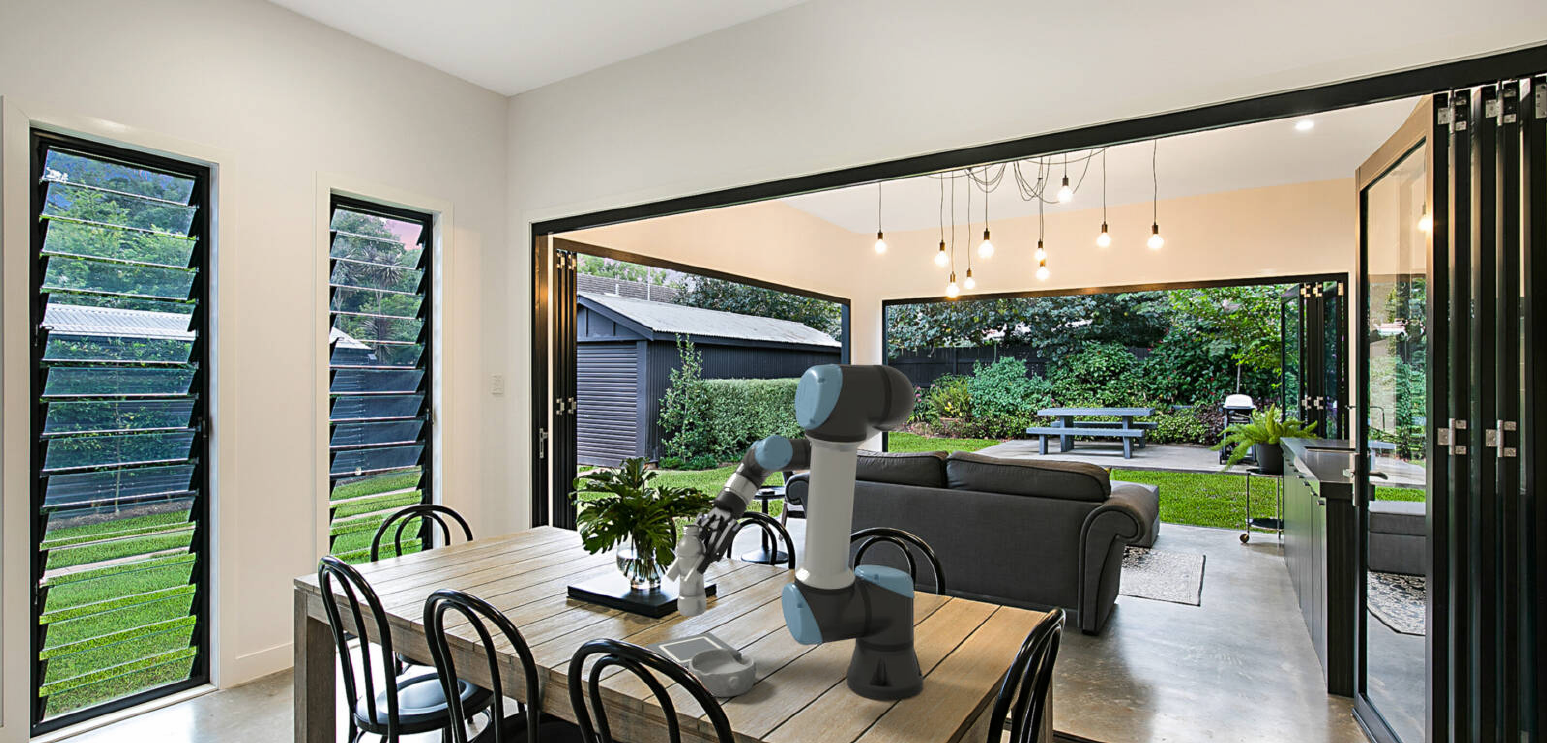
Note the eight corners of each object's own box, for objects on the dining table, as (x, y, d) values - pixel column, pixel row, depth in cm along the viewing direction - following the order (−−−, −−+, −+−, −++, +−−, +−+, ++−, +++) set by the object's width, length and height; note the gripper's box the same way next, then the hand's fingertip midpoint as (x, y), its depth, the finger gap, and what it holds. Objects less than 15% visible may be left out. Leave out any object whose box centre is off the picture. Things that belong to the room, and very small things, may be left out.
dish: (707, 667, 157) (707, 644, 157) (767, 677, 151) (766, 653, 152) (672, 694, 143) (672, 669, 143) (736, 706, 138) (736, 680, 138)
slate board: (741, 659, 161) (741, 653, 161) (673, 674, 153) (673, 668, 153) (709, 637, 175) (709, 632, 175) (645, 650, 166) (645, 644, 166)
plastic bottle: (712, 613, 165) (712, 524, 165) (693, 622, 160) (693, 530, 160) (690, 609, 169) (689, 522, 169) (671, 617, 163) (670, 527, 163)
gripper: (770, 513, 168) (715, 600, 157) (717, 503, 182) (663, 582, 170) (753, 493, 164) (696, 580, 153) (700, 483, 178) (644, 563, 167)
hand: (678, 581), depth 162 cm, fingers closed on plastic bottle, 6 cm apart
